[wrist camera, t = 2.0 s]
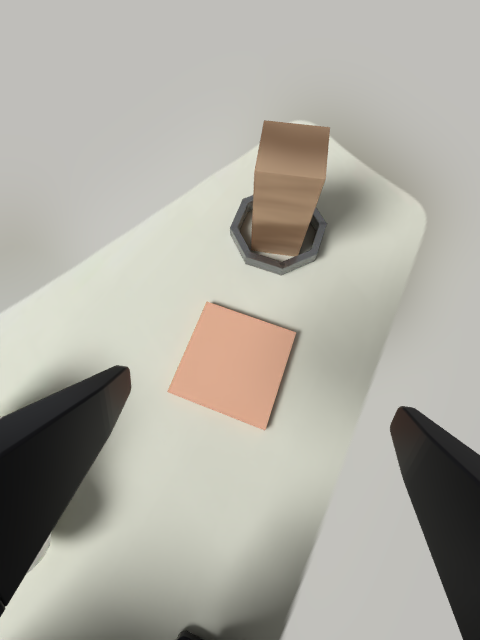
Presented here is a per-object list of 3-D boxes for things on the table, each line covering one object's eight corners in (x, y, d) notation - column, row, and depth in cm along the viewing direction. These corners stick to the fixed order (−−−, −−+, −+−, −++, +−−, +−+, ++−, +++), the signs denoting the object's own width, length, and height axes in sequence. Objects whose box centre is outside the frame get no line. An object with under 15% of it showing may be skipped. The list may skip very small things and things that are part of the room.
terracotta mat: (264, 429, 21) (265, 430, 20) (169, 392, 21) (167, 391, 21) (294, 334, 23) (296, 332, 22) (207, 303, 24) (206, 301, 23)
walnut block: (297, 256, 25) (325, 179, 17) (250, 250, 25) (254, 171, 17) (301, 217, 26) (329, 127, 18) (257, 212, 27) (264, 120, 18)
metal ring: (306, 283, 24) (309, 277, 23) (221, 256, 25) (220, 249, 24) (329, 211, 27) (333, 203, 25) (250, 189, 28) (251, 179, 26)
